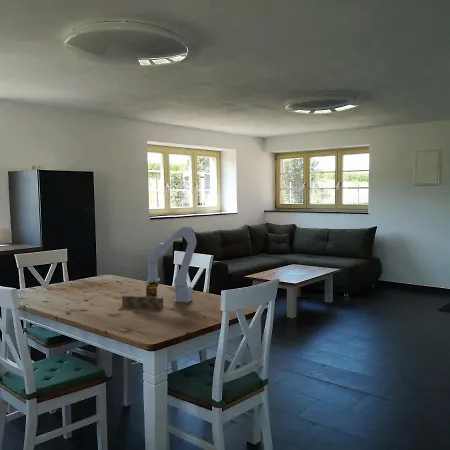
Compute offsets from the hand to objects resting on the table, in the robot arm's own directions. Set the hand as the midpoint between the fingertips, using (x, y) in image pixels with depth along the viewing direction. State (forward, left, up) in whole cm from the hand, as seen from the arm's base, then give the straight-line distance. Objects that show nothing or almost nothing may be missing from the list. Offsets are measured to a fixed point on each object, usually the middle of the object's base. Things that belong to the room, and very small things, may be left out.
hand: (153, 295), depth 260 cm
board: (-1, +15, -3) cm, 16 cm away
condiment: (0, +4, -3) cm, 5 cm away
